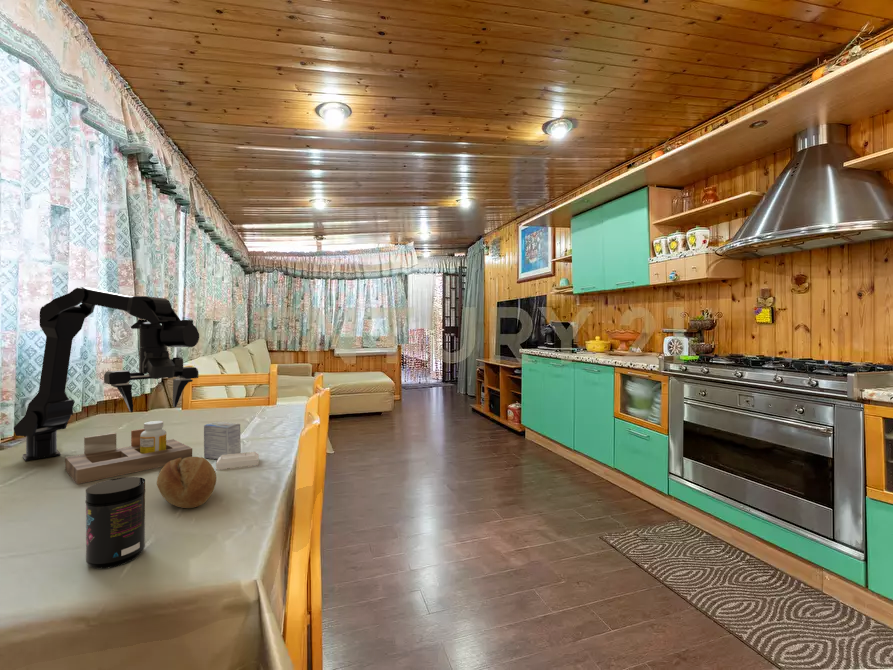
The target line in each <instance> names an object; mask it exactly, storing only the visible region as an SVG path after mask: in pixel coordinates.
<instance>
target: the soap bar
mask: <svg viewBox="0 0 893 670" xmlns="http://www.w3.org/2000/svg"><path fill="white" fill-rule="evenodd" d="M259 457H260V455H259V453H258V452H257V451H251V452H250V451H249V452H241V453H237V454H227V455H221V456H220V457H219V458H218V459H217V461H216V463H215V471H219V470H220V469H221V470H228V469H227V468H230V469H235V468H234V467H239V468H243V467H242V466H248V467H253V466H252V465H257V466H259V461H260V458H259Z"/></svg>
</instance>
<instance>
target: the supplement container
mask: <svg viewBox="0 0 893 670" xmlns="http://www.w3.org/2000/svg"><path fill="white" fill-rule="evenodd" d="M145 521H146V478H144V477H140V476H127V477H126V476H125V477H118V478H111V479H107V480H105V481H103V480H102V481H100V482H97V483H94V484H91V485H90V486H88V487H87V488H85V563H86V564H87V566H89V567H90V568H92V567H93V569H97V568H102V569H109V568H108V567H110V568H114V566H115V567H118V565H119V566H121V564H122V565H124V563H125V564H127V563H129V562H131V561H134V560H135V559H136V558H138V557H139V556H140V555H141V554H142V553H143V552H144V550H145V547H146V522H145Z"/></svg>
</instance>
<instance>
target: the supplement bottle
mask: <svg viewBox="0 0 893 670" xmlns="http://www.w3.org/2000/svg"><path fill="white" fill-rule="evenodd" d="M143 429H145V431H143V432H142V433H141V435H140V453H141V454H145V453H150V452H155V451H161V450H166V440H167V431H166V429H164V421H162V420H153V421H147V422H144V423H143Z"/></svg>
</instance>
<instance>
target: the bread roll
mask: <svg viewBox="0 0 893 670" xmlns="http://www.w3.org/2000/svg"><path fill="white" fill-rule="evenodd" d="M216 484H217V473H216V469H215V468H214V467H213V465H212V464H211V463H210V461H208V460H207V458H204V456H203V457H202V456H201V457H200V456H192V457H186V458H183V459H182V458H178V459H175V460H171V461H169V462H168V463H166V464H165V465H164V466H162V467H161V470H160V471H159V473H158V475H157V479H156V487H157V489H158V491H159V493H160V495H161V496H162V498H163V499H164V500H166V502H168V503H169V504H171V505H172V506H175V507H178V508H182V509H183V508H184V509H192V508H193V509H194V508H197V507H200V506H202V505H204V504H206V502H207V501H208V499H210V498H211V496H212V494H213V493H214V492H215V491H214V490H215V487H216Z"/></svg>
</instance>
